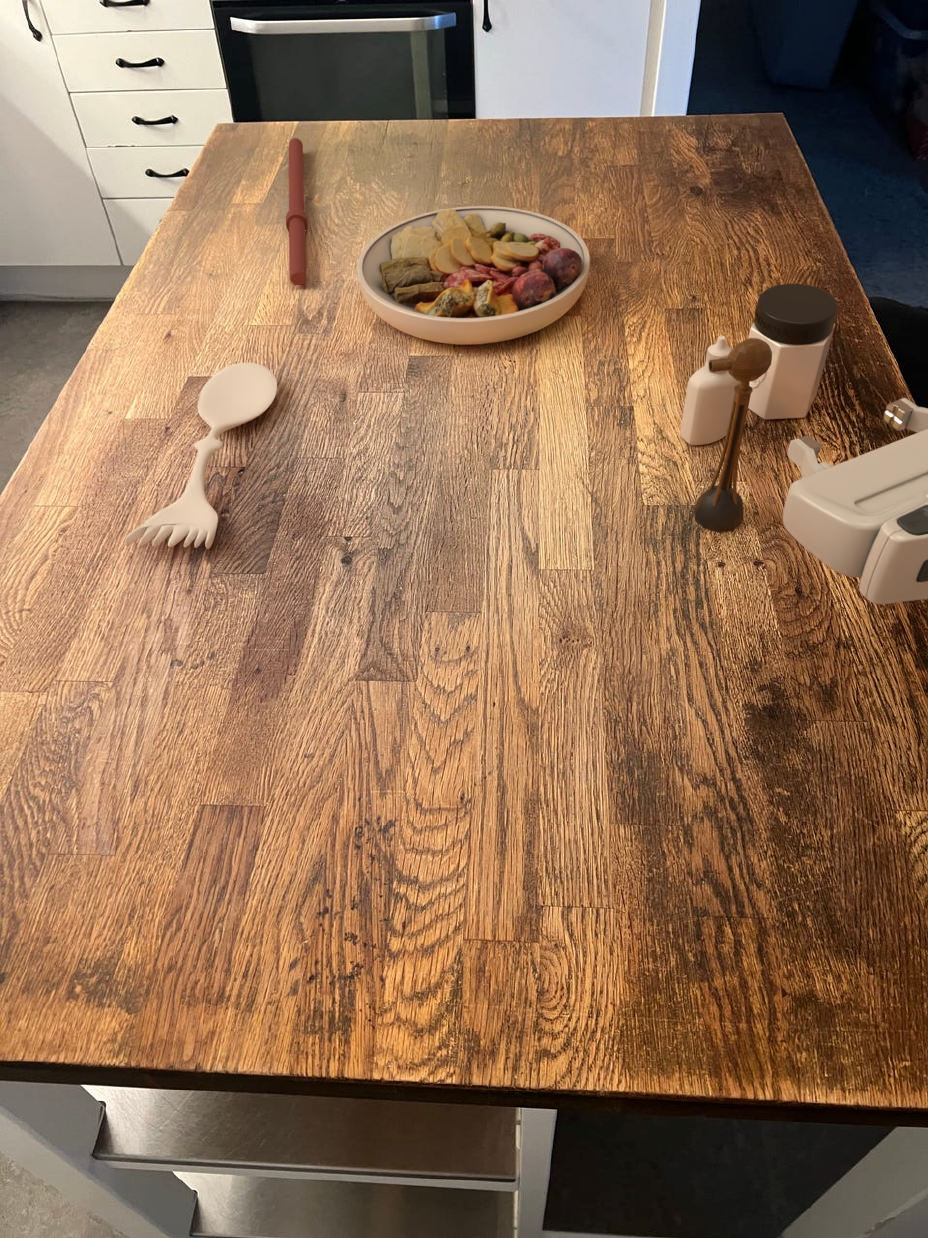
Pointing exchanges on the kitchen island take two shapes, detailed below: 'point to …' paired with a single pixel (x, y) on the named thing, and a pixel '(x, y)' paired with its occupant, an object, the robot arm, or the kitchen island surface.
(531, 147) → the kitchen island surface
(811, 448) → the robot arm
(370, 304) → the bowl
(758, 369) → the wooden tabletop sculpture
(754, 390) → the jar
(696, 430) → the eye dropper bottle
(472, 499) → the kitchen island surface
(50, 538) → the kitchen island surface
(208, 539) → the spoon
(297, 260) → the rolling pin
